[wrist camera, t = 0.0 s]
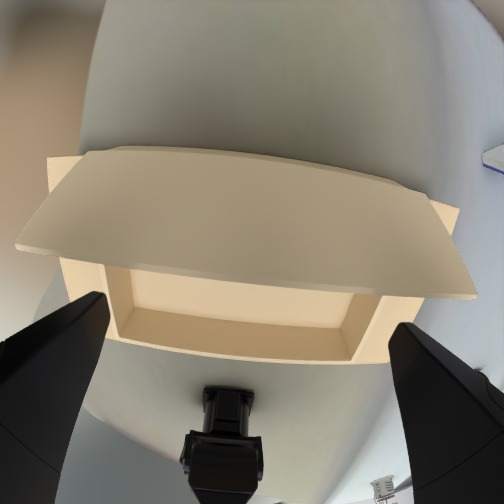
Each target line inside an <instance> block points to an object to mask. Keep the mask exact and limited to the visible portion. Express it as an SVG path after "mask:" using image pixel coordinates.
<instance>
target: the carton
mask: <svg viewBox="0 0 504 504" xmlns="http://www.w3.org/2000/svg"><path fill="white" fill-rule="evenodd" d="M106 151H165V152H184V153H199V154H212V155H223V156H233V157H242V158H251V159H259V160H266V161H274V162H280V163H287V164H294V165H300V166H306V167H311V168H317V169H323V170H328V171H333V172H338V173H343V174H348V175H353V176H357V177H362V178H366V179H370V180H375V181H379V182H383V183H387V184H391V185H395V186H399V187H403V188H405V187H404V186H402V185H400V184H398V183H397V182H395V181H393V180H391V179H387V178H383V177H379V176H375V175H371V174H366V173H362V172H358V171H353V170H349V169H344V168H339V167H334V166H329V165H324V164H319V163H313V162H307V161H302V160H296V159H289V158H283V157H276V156H269V155H261V154H254V153H245V152H236V151H226V150H215V149H203V148H188V147H169V146H119V147H115V148H112V149H109V150H106ZM83 156H84V155H70V156H52V157H48V158H47V169H48V184H49V194H50V193H51V192H52V190H53V189H54V188H55V187H56V186H57V184H58V183H59V182H60V181H61V180H62V179H63V178H64V176H65V175H66V174H67V173H68V172H69V171H70V170H71V169H72V168H73V167H74V165H75V164H76V163H77V162H78V161H79V160H80V159H81V158H82V157H83ZM406 189H407V188H406ZM428 199H429V198H428ZM429 201H430V202H431V204H432V205H433V207H434V209H435V210H436V212H437V214H438V215H439V217H440V219H441V220H442V222H443V224H444V226H445V227H446V229H447V231H448V233H449V234H450V236H451V234H452V231H453V229H454V226H455V223H456V220H457V217H458V213H459V210H460V209H459V208H457V207H455V206H452V205H449V204H445V203H442V202H439V201H435V200H432V199H429ZM59 258H60V257H59ZM60 263H61V267H62V272H63V276H64V280H65V284H66V287H67V291H68V295H69V298H70V302H73V301H74V300H76V299H78V298H80V297H82V296H84V295H86V294H88V293H89V292H91V291H99V292H103V293H105V294H106V296H107V300H108V305H109V309H110V314H111V319H110V323H109V327H108V330H107V333H106V336H105V338H109V339H114V340H118V341H122V342H127V343H131V344H136V345H141V346H146V347H151V348H157V349H162V350H168V351H174V352H180V353H187V354H193V355H201V356H208V357H216V358H225V359H235V360H245V361H257V362H271V363H290V364H372V363H388V362H389V361H390V356H389V350H388V342H389V339H390V337H391V336H392V334H393V332H394V330H395V328H396V326H397V325H398V324H399V323H400V322H411V323H412V322H413V320H414V318H415V316H416V314H417V312H418V310H419V308H420V306H421V304H422V302H423V300H424V298H417V297H399V296H383V295H368V294H354V293H341V292H329V291H317V290H306V289H295V288H285V287H275V286H265V285H255V284H246V283H237V282H228V281H219V280H211V279H203V278H195V277H187V276H179V275H171V274H164V273H157V272H149V271H142V270H135V269H129V268H122V267H115V266H109V265H102V264H96V263H90V262H84V261H78V260H72V259H66V258H60Z"/></svg>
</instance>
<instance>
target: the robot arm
mask: <svg viewBox="0 0 504 504" xmlns="http://www.w3.org/2000/svg"><path fill="white" fill-rule="evenodd" d="M110 319H111V314H110V309H109V305H108V300H107V296H106V294H105V293H103V292H99V291H91V292H89V293H88V294H86V295H84V296H82V297H80V298H78V299H76V300H74V301H73V302H71V303H69V304H67V305H65V306H63V307H62V308H60V309H58V310H56V311H54V312H52V313H51V314H49V315H47V316H45V317H43V318H42V319H40V320H38V321H36V322H35V323H33V324H31V325H29V326H28V327H26V328H24V329H23V330H21V331H19V332H17V333H16V334H14V335H12V336H10V337H9V338H7V339H6V340H5V341H2V342H0V504H54V503H55V498H56V493H57V489H58V484H59V480H60V475H61V474H60V473H61V470H62V467H63V463H64V459H65V456H66V452H67V448H68V445H69V442H70V438H71V435H72V432H73V429H74V426H75V422H76V420H77V417H78V413H79V411H80V408H81V405H82V402H83V399H84V397H85V394H86V391H87V389H88V386H89V383H90V381H91V378H92V376H93V373H94V370H95V368H96V365H97V363H98V359H99V356H100V353H101V349H102V346H103V343H104V339H105V336H106V333H107V330H108V327H109V323H110ZM388 350H389V356H390V362H391V368H392V374H393V381H394V387H395V391H396V396H397V400H398V404H399V409H400V413H401V418H402V423H403V428H404V433H405V438H406V444H407V450H408V456H409V462H410V469H411V477H412V485H413V491H414V492H413V495H414V504H504V393H503V392H501V391H500V390H499V389H497V388H496V387H495V386H494V385H492V384H491V383H490V382H489V381H487V380H486V379H484V377H482V376H481V375H480V374H479V373H477V372H476V371H475V370H473V369H472V368H471V367H470V366H468V365H467V364H466V363H464V362H463V361H462V360H461V359H459V358H458V357H457V356H455V355H454V354H453V353H451V352H450V351H449V350H448V349H446V348H445V347H444V346H442V345H441V344H440V343H438V342H437V341H436V340H434V339H433V338H432V337H430V336H429V335H428V334H426V333H425V332H424V331H422V330H421V329H419V328H418V327H417V326H415V325H414V324H413V323H411V322H400V323H399V324H398V325H397V326H396V328H395V330H394V332H393V334H392V336H391V337H390V339H389V342H388ZM253 400H254V393H252V392H241V391H230V390H220V389H212V388H204V391H203V408H204V413H205V417H204V424H203V432H198V431H195V430H190V433H189V434H186V436H185V442H184V447H183V450H182V453H181V456H180V461H179V462H180V463H181V464H182V466H183V469H184V474H185V475H189V477H188V483H189V486H190V490H191V493H192V494H193V496H194V498H195V500H196V501H197V503H198V504H247V502H248V501H249V500H250V498H251V497H252V496H253V494H254V493H255V491H256V489H257V487H258V481H261V480H262V477H263V466H264V464H263V451H262V441H261V436H257V437H248V417H249V415H250V411H251V407H252V403H253Z"/></svg>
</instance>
